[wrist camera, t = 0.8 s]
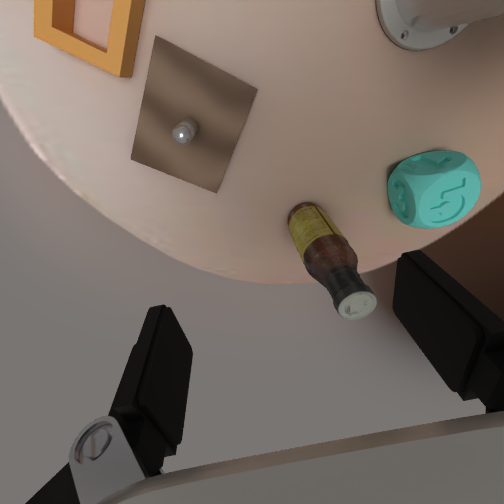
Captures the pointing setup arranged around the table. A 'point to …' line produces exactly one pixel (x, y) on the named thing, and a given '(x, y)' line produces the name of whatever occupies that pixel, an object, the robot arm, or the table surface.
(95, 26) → the table surface
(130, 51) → the link
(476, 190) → the decorative dice
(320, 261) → the sauce bottle
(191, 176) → the plate
